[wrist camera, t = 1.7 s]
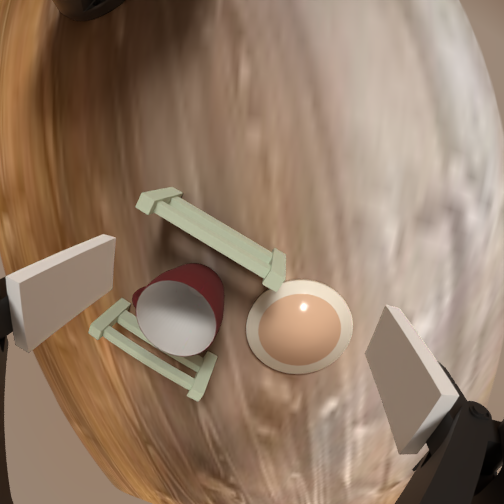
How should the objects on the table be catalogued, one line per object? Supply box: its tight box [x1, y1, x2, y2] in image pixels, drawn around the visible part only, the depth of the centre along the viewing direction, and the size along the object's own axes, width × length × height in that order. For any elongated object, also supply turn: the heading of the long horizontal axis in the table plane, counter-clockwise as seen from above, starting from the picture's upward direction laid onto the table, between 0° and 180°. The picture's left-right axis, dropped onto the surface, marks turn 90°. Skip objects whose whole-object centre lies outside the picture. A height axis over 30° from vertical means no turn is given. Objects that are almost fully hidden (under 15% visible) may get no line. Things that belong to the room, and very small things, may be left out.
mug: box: [132, 263, 224, 357], centre depth 32 cm, size 10×8×10 cm
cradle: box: [88, 187, 286, 402], centre depth 33 cm, size 15×18×8 cm
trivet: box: [246, 279, 353, 374], centre depth 36 cm, size 13×13×1 cm
